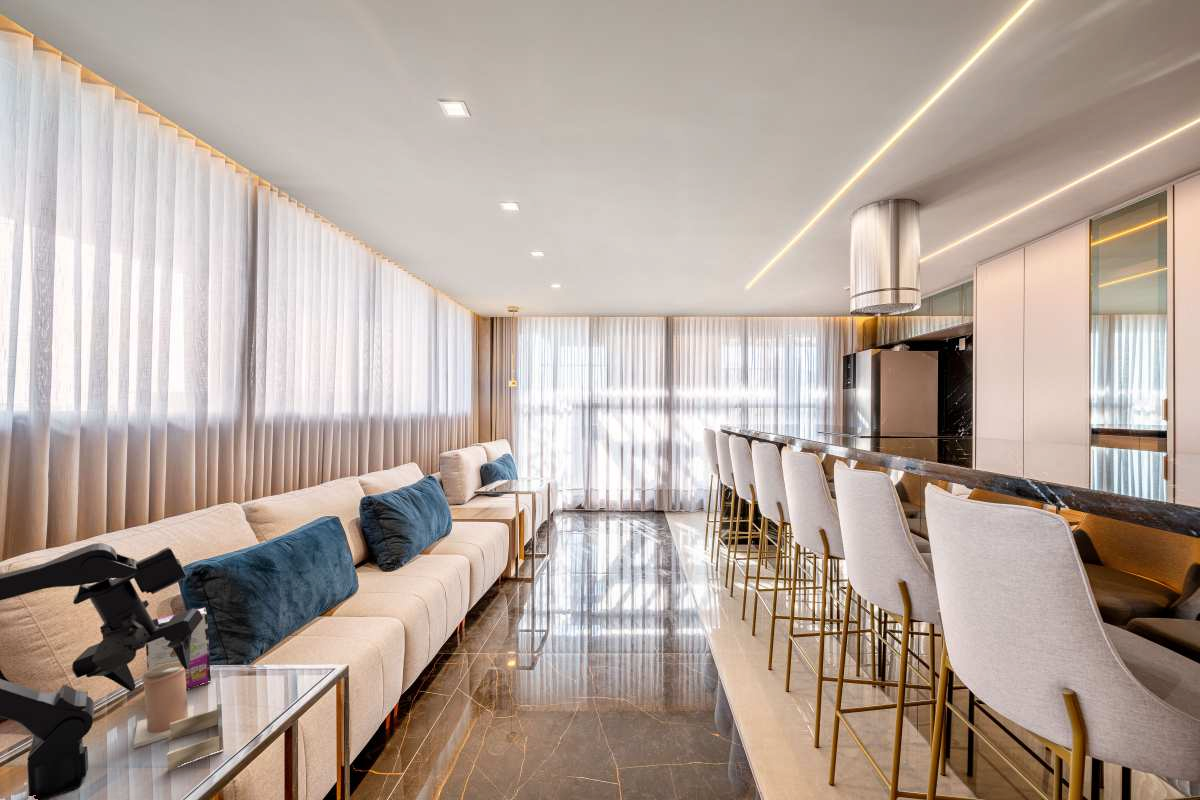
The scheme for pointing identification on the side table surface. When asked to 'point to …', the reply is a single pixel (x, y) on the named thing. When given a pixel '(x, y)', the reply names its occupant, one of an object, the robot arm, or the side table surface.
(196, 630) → the candy bar box
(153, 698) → the terracotta pot
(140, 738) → the ceramic tile
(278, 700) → the side table surface
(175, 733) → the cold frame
